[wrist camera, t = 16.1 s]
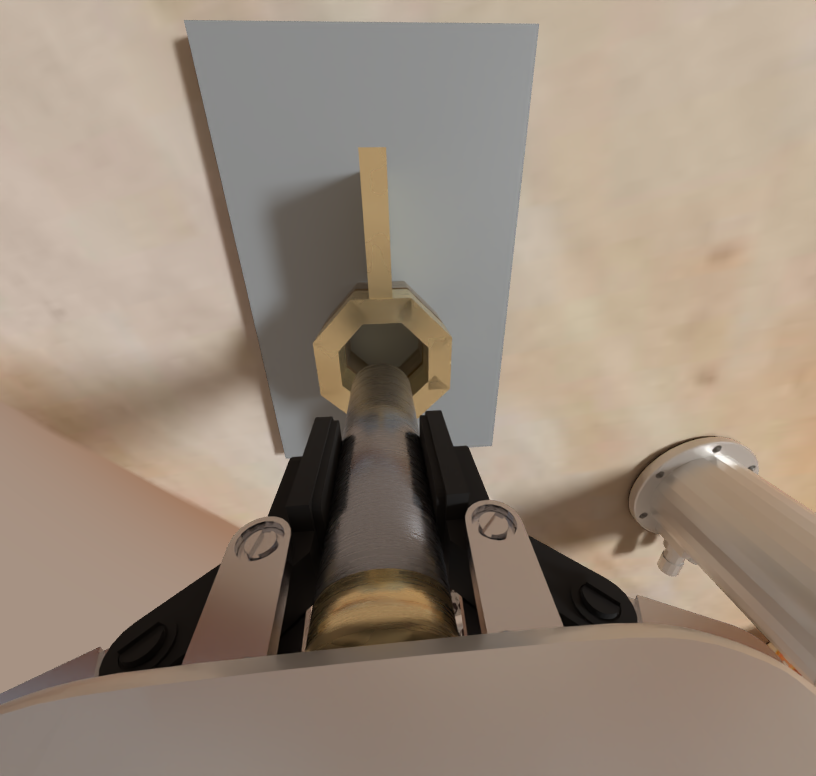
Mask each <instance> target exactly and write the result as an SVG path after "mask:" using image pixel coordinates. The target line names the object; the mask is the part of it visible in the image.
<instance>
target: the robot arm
mask: <svg viewBox="0 0 816 776" xmlns="http://www.w3.org/2000/svg"><path fill="white" fill-rule="evenodd" d="M419 437H420V442H421V447H422V452H423V458H424V463H425V468H426V474H427V479H428V484H429V489H430V495H431V500H432V505H433V510H434V516H435V521H436V526H437V528H438V532H439V536H440V541H441V546H442V551H443V557H444V562H445V567H446V572H447V577H448V583H449V587H450V588H451V589H452V590H454V591H455V592H456V593H458V594H459V601H460V608H461V615H462V623H463V630H464V636H458V637H448V638H437V639H427V640H417V641H407V642H397V643H387V644H377V645H367V646H358V647H348V648H338V649H328V650H318V651H308V652H305V647H306V642H307V636H308V630H309V625H310V616H311V609H310V607H311V606H312V605H313V602H314V596H315V591H316V585H317V579H318V574H319V568H320V562H321V557H322V551H323V545H324V540H325V536H326V530H327V525H328V519H329V513H330V508H331V502H332V496H333V490H334V485H335V479H336V473H337V468H338V462H339V456H340V451H341V445H342V437H341V430H340V423H339V420H334V419H333V417H332V416H330V417H316V418H315V420H314V423H313V426H312V429H311V432H310V435H309V438H308V441H307V444H306V447H305V450H304V453H303V456H297V457H291V458H290V460H289V463H288V465H287V468H286V470H285V473H284V475H283V478H282V481H281V483H280V486H279V488H278V491H277V494H276V496H275V499H274V501H273V504H272V506H271V509H270V512H269V514H268V517H263V518H259V519H256V520H254V521H252V522H250V523H248V524H246V525H245V526H243V527H242V528H241V529H240V530H239V531H238V532H237V533H236V534H235V535H234V536H233V538H232V539H231V541H230V543H229V545H228V547H227V550H226V552H225V555H224V557H223V560H222V563H221V564H220V565H218V566H217V567H215V568H214V569H212V570H211V571H209V572H208V573H206V574H205V575H204V576H202V577H201V578H199V579H198V580H196V581H195V582H194V583H192V584H190V585H189V586H188V587H186V588H185V589H183V590H182V591H180V592H179V593H177V594H176V595H174V596H173V597H172V598H170V599H169V600H167V601H166V602H164V603H163V604H162V605H160V606H159V607H157V608H156V609H154V610H153V611H151V612H150V613H148V614H147V615H145V616H144V617H142V618H141V619H140V620H138V621H137V622H135V623H134V624H133V625H132V626H130V627H129V628H128V629H127V630H125V631H124V632H123V633H122V634H121V635H120V636H119V637H118V638H117V639H116V641H115V642H114V643H113V644H112V645H111V647H110V648H109V649H106V650H104V651H103V649H102V648H101V647H98V648H96V649H94V650H92V651H90V652H87V653H86V654H83V655H81V656H79V657H77V658H75V659H73V660H71V661H68V662H67V663H64V664H62V665H60V666H58V667H56V668H54V669H52V670H50V671H47V672H45V673H43V674H41V675H39V676H37V677H35V678H33V679H30V680H28V681H26V682H24V683H22V684H20V685H18V686H16V687H14V688H12V689H9V690H7V691H5V692H3V693H1V694H0V776H816V513H815V512H814V511H812V510H811V509H809V508H808V507H806V506H805V505H803V504H802V503H800V502H798V501H797V500H795V499H794V498H792V497H791V496H789V495H788V494H786V493H785V492H783V491H782V490H780V489H779V488H777V487H776V486H774V485H773V484H771V483H769V482H768V481H766V480H765V479H763V478H762V477H760V476H759V475H758V472H759V468H758V460H757V458H756V455H755V454H754V453H753V452H752V451H751V450H750V449H749V448H747V447H746V446H744V445H743V444H741V443H739V442H737V441H735V440H733V439H730V438H725V437H706V438H700V439H695V440H692V441H689V442H686V443H683V444H681V445H679V446H676V447H674V448H672V449H670V450H669V451H667V452H665V453H664V454H662V455H661V456H659V457H658V458H657V459H655V460H654V461H653V462H652V463H650V464H649V465H648V466H647V467H646V468H645V470H644V471H643V472H642V473H641V474H640V476H639V477H638V478H637V480H636V481H635V483H634V485H633V487H632V489H631V493H630V497H629V509H630V512H631V514H632V516H633V517H634V519H635V520H636V521H637V522H638V523H639V524H640V525H641V526H642V527H643V528H644V529H646V530H648V531H649V532H652V533H656V534H660V535H661V536H662V537H663V538H664V541H663V544H664V547H665V550H664V551H663V552H662V554H661V556H660V559H659V561H658V563H657V565H658V567H659V569H660V570H661V571H662V572H664V573H665V574H667V575H669V576H677V575H678V574H679V572H680V570H681V569H682V567H683V565H684V560H685V559H687V560H688V561H689V562H691V563H693V564H695V565H699V566H700V568H701V569H702V570H703V571H704V572H705V573H706V574H707V575H708V576H709V577H710V578H711V579H712V580H713V581H714V582H715V583H716V585H717V586H718V587H719V588H720V589H721V590H722V591H723V592H724V593H725V594H726V595H727V596H728V597H729V598H730V599H731V600H732V602H733V603H734V604H735V605H736V606H737V607H738V608H739V609H740V610H741V611H742V612H743V613H744V614H745V615H746V616H747V618H748V619H749V620H750V621H751V622H752V623H753V624H754V625H755V626H756V627H757V628H758V629H759V630H760V631H761V632H762V633H763V635H764V636H765V637H766V638H767V639H768V640H769V641H770V642H771V643H772V644H773V645H774V646H775V647H776V648H777V649H778V650H779V652H780V653H781V654H782V655H783V656H784V657H785V658H786V659H787V660H788V661H789V662H790V663H791V664H792V665H793V666H794V668H795V669H796V670H797V671H798V672H799V673H800V674H801V675H802V676H803V677H802V676H801V675H799V674H798V673H796V672H795V671H794V670H792V669H791V668H789V667H788V666H786V665H785V664H784V663H783V662H782V660H781V659H780V657H779V656H778V655H777V654H776V653H775V652H774V651H773V650H772V649H771V648H770V647H769V646H768V645H766V644H765V643H764V642H763V641H761V640H760V639H758V638H757V637H755V636H754V635H752V634H751V633H749V632H747V631H745V630H743V629H740V628H738V627H736V626H733V625H730V624H727V623H724V622H721V621H718V620H715V619H711V618H708V617H705V616H702V615H699V614H696V613H693V612H690V611H686V610H683V609H680V608H677V607H674V606H671V605H668V604H664V603H661V602H658V601H655V600H652V599H649V598H646V597H643V596H639V595H637V596H636V598H635V599H633V598H630V597H627V595H626V594H625V593H624V592H623V591H622V590H621V589H620V588H619V587H618V586H616V585H615V584H614V583H612V582H611V581H609V580H608V579H606V578H604V577H603V576H601V575H599V574H597V573H595V572H594V571H592V570H590V569H588V568H586V567H584V566H583V565H581V564H579V563H577V562H575V561H574V560H572V559H570V558H568V557H566V556H565V555H563V554H561V553H559V552H557V551H556V550H554V549H552V548H550V547H548V546H547V545H545V544H543V543H541V542H539V541H538V540H536V539H534V538H532V537H530V536H528V534H527V532H526V529H525V526H524V524H523V521H522V519H521V518H520V516H519V514H518V513H517V512H516V511H515V510H514V509H513V508H511V507H510V506H508V505H506V504H504V503H502V502H498V501H494V500H489V497H488V495H487V492H486V490H485V487H484V485H483V482H482V480H481V477H480V475H479V472H478V470H477V467H476V465H475V462H474V460H473V457H472V455H471V452H470V450H469V448H468V446H466V445H465V446H453V443H452V441H451V438H450V435H449V432H448V429H447V426H446V423H445V420H444V417H443V414H442V411H441V410H433V411H425V415H420V416H419Z"/></svg>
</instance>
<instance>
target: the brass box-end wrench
mask: <svg viewBox="0 0 816 776" xmlns="http://www.w3.org/2000/svg"><path fill="white" fill-rule="evenodd" d="M358 152H359V166H360V180H361V194H362V207H363V221H364V235H365V249H366V262H367V276H368V290H361V291H354V292H353V293H352V294H351V295H350V296H349V298H348V299H347V300H346V301H345V302H344V303H343V304H342V306H341V307H340V308H339V309H338V310H337V311H336V313H335V314H334V315H333V316H332V317H331V318H330V320H329V321H328V322H327V323H326V324H325V325H324V327H323V328H322V329H321V330H320V332H319V334H318V335H317V337H316V339H315V340H314V342H313V348H314V355H315V361H316V367H317V374H318V380H319V387H320V393H321V396H323V397H324V398H325V399H327V400H328V401H330V402H331V403H332V404H334V405H335V406H336V407H338V408H339V409H341V410H342V411H343V412H345V413H346V414H347V410H348V404H349V398H350V393H351V387H352V383H353V380H354V378H355V376H356V374H355V373H354V372H352V371H351V370H350V369H349V368H347V363H346V354H345V344H346V343H347V341H348V340H349V339H350V338H351V337H352V336H353V335H354V334H355V333H356V331H357V330H358V329H359V328H360V327H361V326H362V325H363V324H387V323H402V324H403V325H404V326H406V327H407V328H408V329H409V330H410V331H411V332H412V333H413V334H414V335H415V336H416V337H417V338H419V339H420V340H421V341H422V342H423V364H422V365H421V366H420V367H419V368H418V369H417V370H416V371H415V372H414V373H413V374H412V375H411V376H410V377H409V378H408V379H409V382H410V386H411V391H412V396H413V402H414V407H415V412H416V417H417V419H418V418H419V416H420V415H422V414H423V413H424V412H425V411H426V410H427V409H429V408H430V407H431V406H432V405H433V404H434V403H435V402H436V401H437V400H438V399H439V398H440V397H441V396H443V395H444V394H445V393H446V392H447V391H448V390H449V389H450V378H451V353H452V336H451V335H450V333H449V332H448V330H447V329H446V327H445V326H444V324H443V323H442V322H441V321H440V320H439V319H438V318H437V317H436V316H435V315H434V314H433V313H432V312H431V311H430V310H429V309H428V308H426V307H425V306H424V305H423V304H422V303H421V302H420V301H419V300H418V299H417V298H416V297H415V296H414V295H413V294H412V293H411V292H410V291H409V290H408V289H392V275H391V251H390V227H389V203H388V179H387V155H386V147H358Z"/></svg>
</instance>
